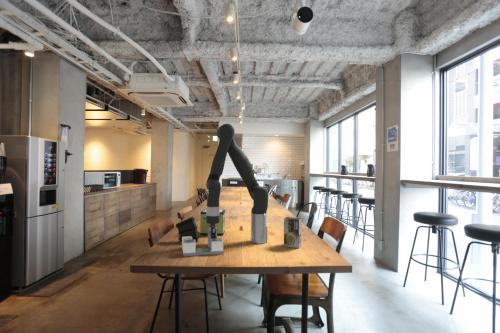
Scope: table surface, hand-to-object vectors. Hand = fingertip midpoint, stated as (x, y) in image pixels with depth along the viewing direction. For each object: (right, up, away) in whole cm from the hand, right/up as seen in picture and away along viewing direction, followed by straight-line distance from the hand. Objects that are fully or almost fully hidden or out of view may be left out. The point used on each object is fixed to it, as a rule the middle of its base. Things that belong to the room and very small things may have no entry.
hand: (212, 244), depth 148 cm
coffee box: (+46, -2, +2) cm, 46 cm away
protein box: (-4, -1, +28) cm, 28 cm away
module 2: (0, -1, 0) cm, 1 cm away
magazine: (-16, -1, +7) cm, 18 cm away
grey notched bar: (-3, -1, -13) cm, 13 cm away
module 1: (-13, -1, -5) cm, 14 cm away
